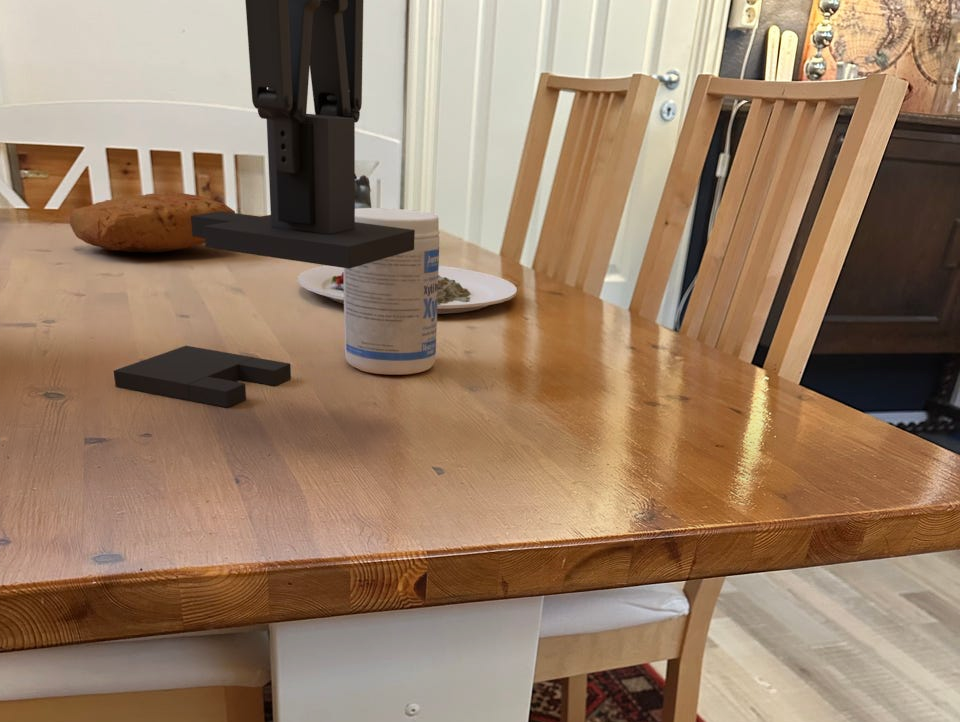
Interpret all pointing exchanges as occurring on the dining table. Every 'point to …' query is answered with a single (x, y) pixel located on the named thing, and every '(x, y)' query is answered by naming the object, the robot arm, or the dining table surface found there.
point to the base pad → (201, 375)
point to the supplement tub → (394, 299)
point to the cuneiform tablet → (143, 222)
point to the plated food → (454, 287)
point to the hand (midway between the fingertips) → (313, 218)
